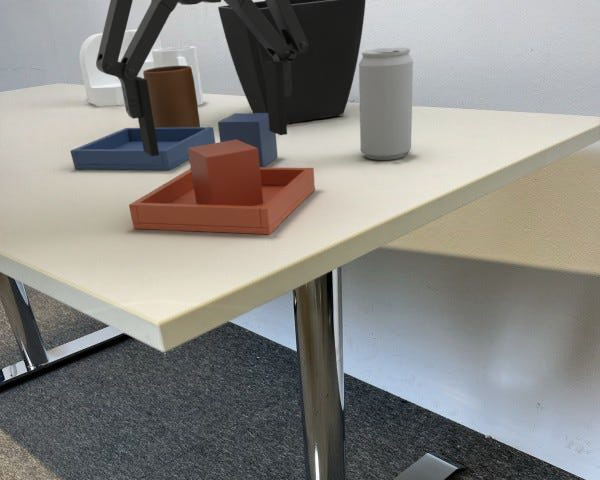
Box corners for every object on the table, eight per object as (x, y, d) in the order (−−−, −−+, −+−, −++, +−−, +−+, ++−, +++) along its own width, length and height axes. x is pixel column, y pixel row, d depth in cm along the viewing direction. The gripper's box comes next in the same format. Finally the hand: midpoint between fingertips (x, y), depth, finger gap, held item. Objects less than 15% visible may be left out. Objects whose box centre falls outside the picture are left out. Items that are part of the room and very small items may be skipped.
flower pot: (257, 133, 101) (244, 6, 92) (229, 114, 116) (215, 4, 107) (369, 117, 105) (368, -6, 96) (328, 101, 120) (324, -6, 111)
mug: (144, 129, 110) (132, 67, 105) (187, 123, 112) (178, 61, 107) (159, 141, 100) (147, 73, 95) (206, 134, 103) (197, 67, 97)
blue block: (223, 167, 84) (217, 122, 81) (239, 157, 88) (234, 113, 85) (263, 168, 82) (258, 121, 79) (277, 157, 86) (274, 112, 83)
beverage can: (381, 164, 80) (381, 54, 73) (350, 155, 84) (348, 51, 78) (421, 154, 82) (424, 47, 76) (389, 147, 87) (390, 45, 80)
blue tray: (74, 168, 89) (70, 150, 88) (129, 144, 100) (126, 127, 99) (169, 170, 85) (166, 150, 83) (215, 144, 96) (213, 126, 95)
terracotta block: (213, 214, 65) (205, 157, 62) (195, 201, 70) (187, 147, 67) (263, 203, 67) (258, 147, 64) (242, 191, 71) (236, 139, 68)
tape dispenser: (158, 91, 147) (147, 27, 140) (175, 96, 139) (164, 29, 132) (88, 102, 141) (73, 36, 134) (101, 107, 133) (86, 37, 126)
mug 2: (157, 104, 131) (147, 49, 126) (198, 99, 134) (190, 45, 128) (170, 112, 122) (160, 53, 117) (214, 106, 124) (206, 48, 119)
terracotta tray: (133, 228, 65) (128, 204, 64) (196, 187, 77) (193, 166, 75) (269, 234, 61) (267, 209, 60) (315, 189, 72) (313, 167, 71)
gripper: (35, -136, 46) (101, 170, 58) (340, -136, 55) (343, 130, 67) (21, -122, 52) (84, 154, 64) (299, -124, 61) (309, 119, 73)
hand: (217, 143), depth 65 cm, fingers open, 13 cm apart
